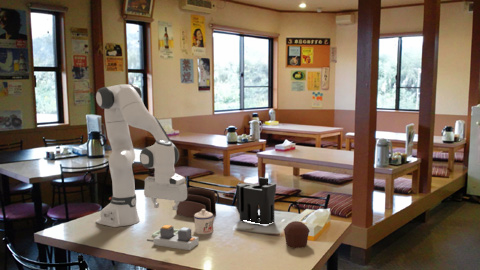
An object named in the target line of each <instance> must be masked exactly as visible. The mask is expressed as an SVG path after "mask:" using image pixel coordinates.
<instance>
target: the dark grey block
mask: <svg viewBox="0 0 480 270" xmlns="http://www.w3.org/2000/svg"><path fill="white" fill-rule="evenodd" d="M191 236H192V229H191V228H190V227H184V226H183V227H181V228H180V229H179V231H178V241H184V242H188V241H190V239H191V238H192V237H191Z"/></svg>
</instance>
